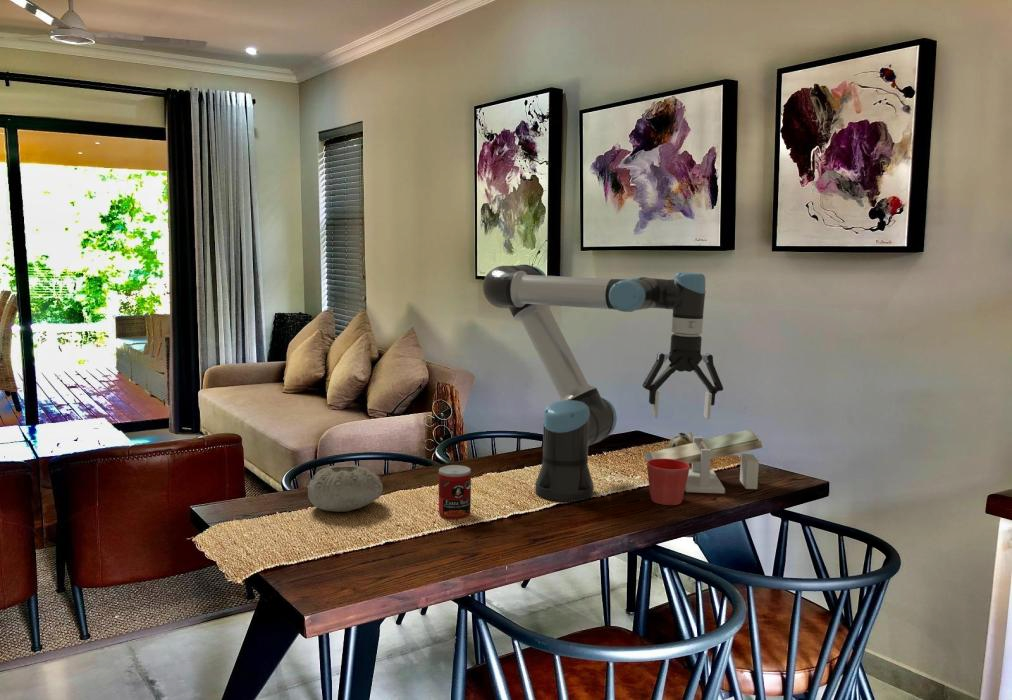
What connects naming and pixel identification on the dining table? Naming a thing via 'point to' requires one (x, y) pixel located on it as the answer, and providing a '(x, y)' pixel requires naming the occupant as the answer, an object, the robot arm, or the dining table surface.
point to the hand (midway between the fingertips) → (680, 417)
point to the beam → (710, 447)
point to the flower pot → (667, 480)
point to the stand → (708, 481)
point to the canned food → (454, 491)
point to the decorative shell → (344, 488)
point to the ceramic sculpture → (680, 440)
